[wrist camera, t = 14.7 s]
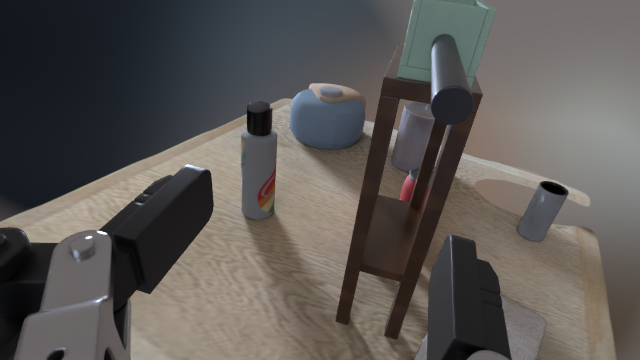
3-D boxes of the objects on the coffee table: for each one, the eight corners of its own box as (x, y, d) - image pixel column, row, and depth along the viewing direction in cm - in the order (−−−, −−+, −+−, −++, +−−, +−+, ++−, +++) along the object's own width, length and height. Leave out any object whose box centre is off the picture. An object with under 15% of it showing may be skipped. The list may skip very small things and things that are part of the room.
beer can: (405, 217, 68) (421, 162, 62) (435, 237, 64) (456, 179, 58) (383, 231, 64) (398, 173, 58) (413, 252, 60) (433, 192, 54)
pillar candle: (409, 151, 93) (424, 94, 85) (440, 168, 86) (459, 109, 78) (382, 159, 87) (395, 99, 79) (413, 178, 81) (431, 115, 73)
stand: (335, 321, 47) (383, 76, 30) (356, 243, 60) (398, 43, 44) (396, 339, 46) (483, 94, 29) (404, 255, 59) (467, 54, 42)
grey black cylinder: (517, 236, 67) (540, 190, 61) (516, 223, 70) (538, 178, 65) (544, 245, 65) (570, 198, 60) (542, 231, 69) (567, 185, 64)
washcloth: (541, 327, 50) (551, 312, 48) (513, 442, 37) (525, 428, 35) (457, 282, 55) (464, 267, 54) (407, 369, 43) (414, 353, 41)
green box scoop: (372, 152, 18) (399, 23, 15) (404, 53, 39) (418, -9, 36) (498, 179, 17) (555, 46, 14) (462, 63, 38) (481, -1, 35)
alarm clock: (369, 128, 102) (377, 86, 96) (349, 158, 86) (357, 110, 80) (306, 113, 107) (310, 72, 100) (276, 138, 90) (278, 91, 84)
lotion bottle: (280, 211, 66) (286, 106, 55) (256, 224, 62) (258, 114, 51) (259, 197, 69) (261, 95, 58) (235, 209, 65) (232, 102, 54)
